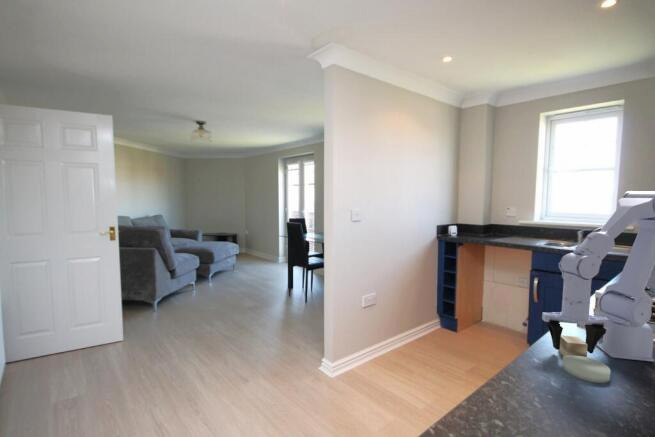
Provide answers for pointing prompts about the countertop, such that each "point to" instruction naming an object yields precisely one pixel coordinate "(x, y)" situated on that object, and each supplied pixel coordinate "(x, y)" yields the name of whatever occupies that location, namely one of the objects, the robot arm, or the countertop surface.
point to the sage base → (586, 368)
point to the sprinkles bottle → (596, 311)
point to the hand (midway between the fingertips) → (572, 349)
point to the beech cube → (572, 346)
